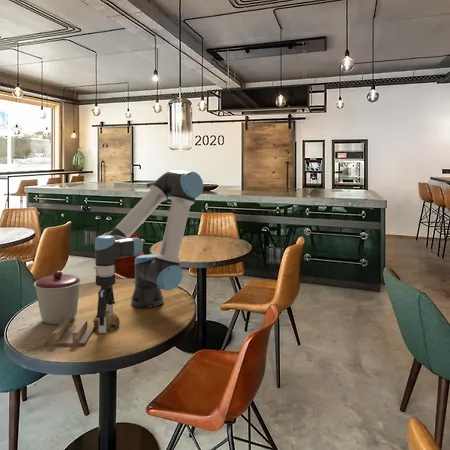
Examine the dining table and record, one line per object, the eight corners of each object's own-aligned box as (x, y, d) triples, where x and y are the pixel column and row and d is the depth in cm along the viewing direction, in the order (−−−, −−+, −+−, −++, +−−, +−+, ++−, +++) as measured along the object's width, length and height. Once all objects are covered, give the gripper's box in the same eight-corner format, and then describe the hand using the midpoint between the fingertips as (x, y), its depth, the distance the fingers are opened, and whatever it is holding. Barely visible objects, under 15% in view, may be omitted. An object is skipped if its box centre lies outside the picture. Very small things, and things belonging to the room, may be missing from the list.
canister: (79, 309, 175) (78, 263, 172) (85, 324, 159) (83, 274, 156) (34, 315, 167) (32, 267, 164) (36, 331, 151) (33, 279, 148)
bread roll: (101, 341, 153) (107, 325, 150) (85, 325, 157) (91, 309, 154) (120, 332, 161) (126, 317, 158) (105, 317, 165) (110, 302, 162)
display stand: (94, 329, 155) (94, 318, 154) (84, 345, 141) (84, 333, 140) (58, 329, 154) (57, 318, 153) (44, 345, 140) (44, 334, 139)
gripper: (103, 266, 166) (103, 314, 170) (87, 283, 142) (88, 339, 146) (120, 266, 167) (121, 314, 170) (108, 283, 143) (109, 339, 146)
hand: (106, 325), depth 158 cm, fingers open, 12 cm apart
